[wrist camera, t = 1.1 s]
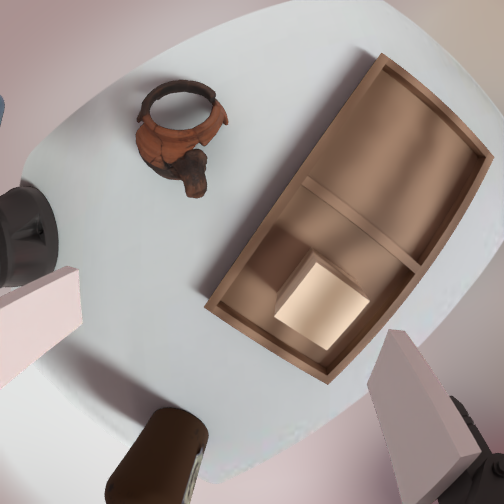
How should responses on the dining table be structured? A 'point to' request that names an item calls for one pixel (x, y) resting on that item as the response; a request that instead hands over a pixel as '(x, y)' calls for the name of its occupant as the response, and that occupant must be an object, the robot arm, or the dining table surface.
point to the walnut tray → (360, 215)
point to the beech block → (319, 300)
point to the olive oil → (160, 461)
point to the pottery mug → (179, 139)
